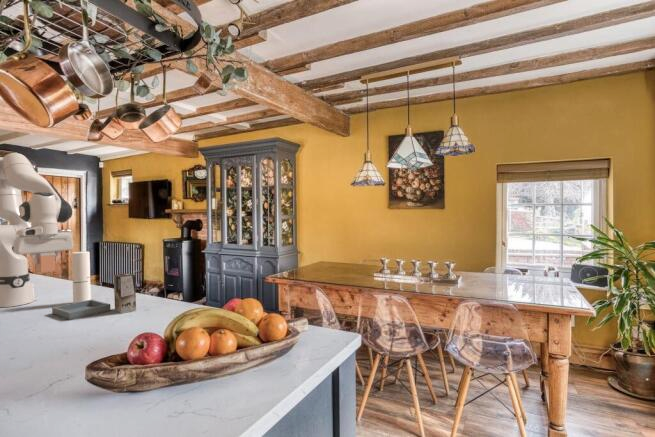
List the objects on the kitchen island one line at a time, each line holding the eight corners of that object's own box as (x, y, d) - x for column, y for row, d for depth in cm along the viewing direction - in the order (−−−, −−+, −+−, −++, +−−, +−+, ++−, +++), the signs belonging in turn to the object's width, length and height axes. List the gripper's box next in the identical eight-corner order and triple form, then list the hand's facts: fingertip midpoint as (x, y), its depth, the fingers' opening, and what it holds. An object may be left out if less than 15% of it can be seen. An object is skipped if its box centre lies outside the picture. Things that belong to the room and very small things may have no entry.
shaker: (36, 271, 151) (35, 253, 151) (50, 270, 155) (50, 251, 155) (41, 272, 148) (40, 253, 148) (55, 271, 153) (54, 252, 152)
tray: (52, 314, 157) (52, 307, 157) (92, 305, 170) (92, 299, 170) (69, 320, 148) (69, 313, 148) (110, 310, 161) (110, 304, 161)
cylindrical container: (94, 301, 179) (93, 251, 178) (83, 305, 172) (81, 253, 171) (81, 301, 180) (79, 251, 179) (69, 304, 172) (68, 253, 172)
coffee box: (136, 310, 161) (135, 274, 161) (121, 313, 156) (120, 277, 156) (129, 307, 167) (128, 272, 167) (114, 309, 163) (113, 274, 162)
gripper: (69, 229, 162) (70, 259, 162) (11, 231, 145) (12, 265, 145) (75, 229, 158) (76, 260, 159) (17, 231, 141) (18, 266, 142)
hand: (45, 262), depth 152 cm, fingers closed on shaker, 5 cm apart
